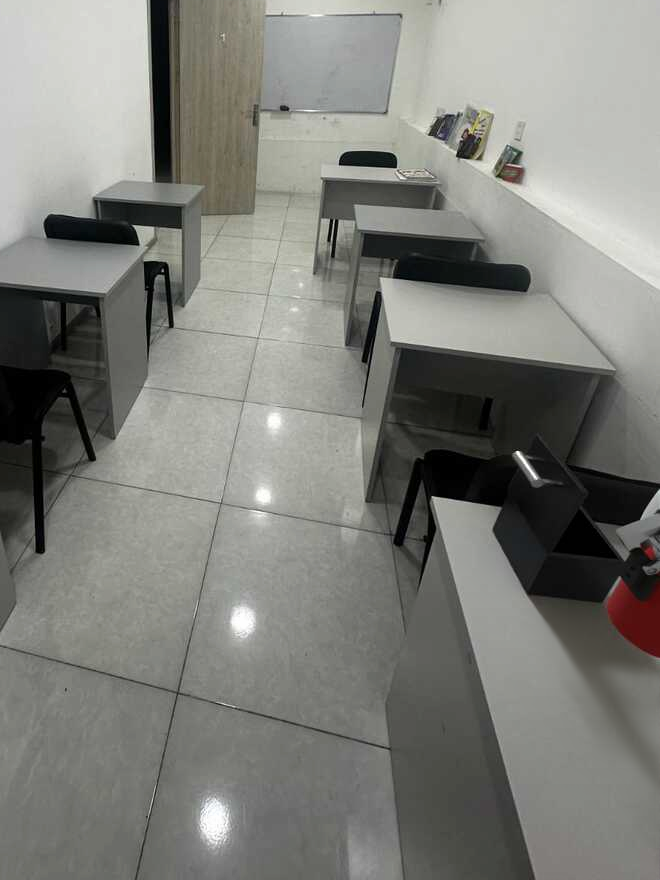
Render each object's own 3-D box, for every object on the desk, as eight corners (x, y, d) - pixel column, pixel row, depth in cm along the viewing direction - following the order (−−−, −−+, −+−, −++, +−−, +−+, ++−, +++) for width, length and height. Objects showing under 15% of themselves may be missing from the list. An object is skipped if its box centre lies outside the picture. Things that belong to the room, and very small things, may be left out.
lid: (541, 434, 82) (508, 429, 82) (588, 492, 70) (550, 487, 70) (511, 490, 87) (480, 486, 87) (551, 553, 76) (515, 548, 76)
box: (557, 536, 91) (577, 499, 87) (602, 603, 79) (627, 564, 76) (491, 529, 91) (508, 492, 87) (526, 594, 80) (547, 555, 76)
